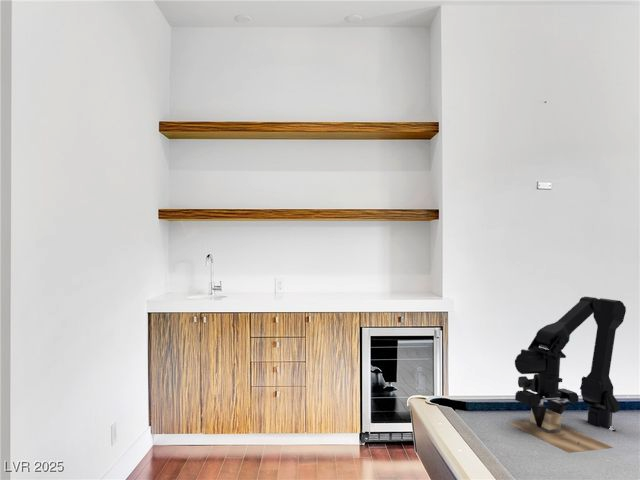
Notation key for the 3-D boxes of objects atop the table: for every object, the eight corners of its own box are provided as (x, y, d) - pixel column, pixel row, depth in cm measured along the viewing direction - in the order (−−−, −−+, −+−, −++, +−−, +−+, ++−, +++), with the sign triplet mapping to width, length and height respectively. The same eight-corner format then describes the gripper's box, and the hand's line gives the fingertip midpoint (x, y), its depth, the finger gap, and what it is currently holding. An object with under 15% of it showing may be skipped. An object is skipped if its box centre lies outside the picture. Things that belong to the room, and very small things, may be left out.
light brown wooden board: (549, 423, 156) (549, 419, 156) (613, 452, 135) (613, 447, 135) (507, 426, 150) (508, 422, 150) (568, 457, 130) (568, 452, 130)
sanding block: (541, 423, 151) (542, 407, 151) (560, 432, 145) (561, 414, 145) (530, 424, 150) (531, 407, 150) (548, 433, 143) (549, 415, 143)
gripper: (551, 365, 158) (548, 415, 158) (503, 366, 152) (500, 418, 151) (581, 374, 148) (578, 428, 148) (531, 376, 141) (527, 432, 141)
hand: (545, 426), depth 147 cm, fingers closed on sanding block, 4 cm apart
